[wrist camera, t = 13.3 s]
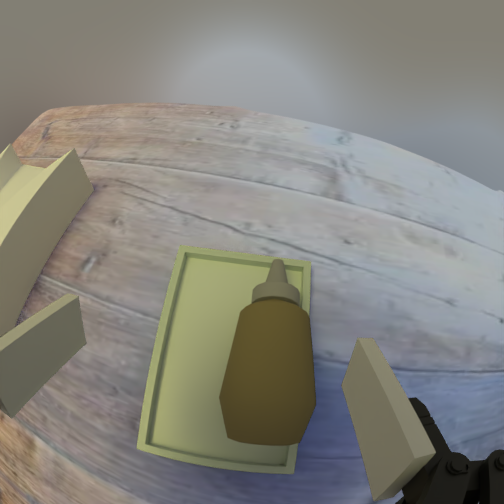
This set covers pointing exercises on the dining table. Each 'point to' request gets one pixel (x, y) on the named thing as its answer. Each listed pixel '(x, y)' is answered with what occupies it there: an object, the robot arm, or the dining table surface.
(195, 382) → the tray
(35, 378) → the robot arm
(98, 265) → the dining table surface
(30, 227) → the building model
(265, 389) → the squeeze bottle
